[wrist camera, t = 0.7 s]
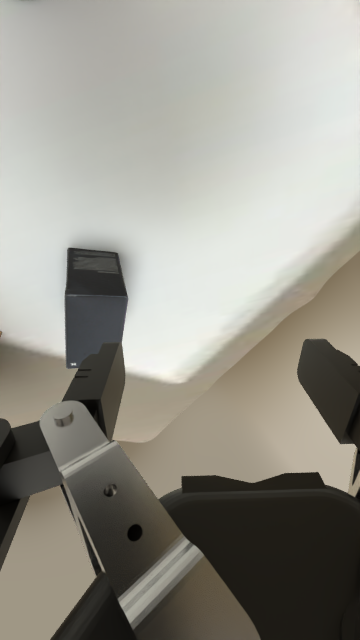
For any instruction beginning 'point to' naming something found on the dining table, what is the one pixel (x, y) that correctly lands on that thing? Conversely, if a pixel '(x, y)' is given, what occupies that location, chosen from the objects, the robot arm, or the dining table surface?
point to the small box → (93, 303)
